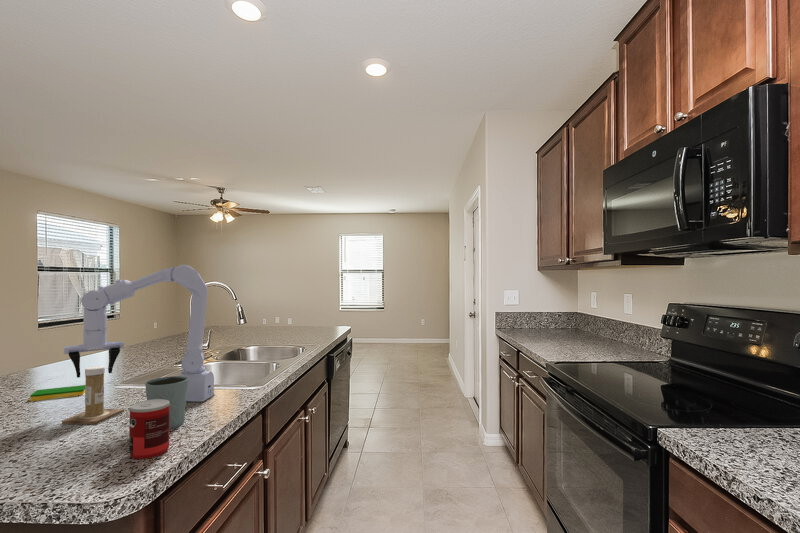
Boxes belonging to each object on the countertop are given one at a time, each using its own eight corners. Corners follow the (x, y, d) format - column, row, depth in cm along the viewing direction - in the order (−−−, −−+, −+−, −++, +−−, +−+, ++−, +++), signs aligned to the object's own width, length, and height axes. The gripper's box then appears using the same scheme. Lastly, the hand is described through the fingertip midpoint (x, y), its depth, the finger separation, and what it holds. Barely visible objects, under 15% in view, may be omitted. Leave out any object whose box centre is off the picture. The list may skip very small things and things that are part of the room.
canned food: (140, 445, 96) (141, 399, 96) (175, 444, 96) (176, 398, 97) (121, 460, 88) (121, 410, 88) (159, 459, 89) (159, 408, 89)
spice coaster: (124, 411, 120) (124, 408, 120) (97, 424, 110) (97, 421, 110) (91, 411, 120) (91, 408, 120) (61, 423, 110) (62, 420, 110)
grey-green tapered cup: (142, 434, 103) (143, 387, 103) (146, 421, 112) (147, 378, 112) (187, 427, 108) (188, 382, 108) (187, 415, 116) (188, 373, 117)
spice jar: (104, 414, 114) (105, 367, 115) (84, 418, 112) (84, 369, 112) (104, 410, 118) (104, 364, 118) (84, 414, 115) (85, 366, 116)
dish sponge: (36, 396, 136) (37, 389, 136) (87, 391, 143) (87, 384, 143) (29, 402, 130) (29, 395, 130) (83, 396, 136) (83, 389, 136)
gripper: (121, 326, 131) (121, 368, 130) (63, 330, 121) (62, 376, 121) (125, 328, 125) (124, 372, 125) (64, 333, 116) (64, 380, 115)
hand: (94, 374), depth 122 cm, fingers open, 7 cm apart
